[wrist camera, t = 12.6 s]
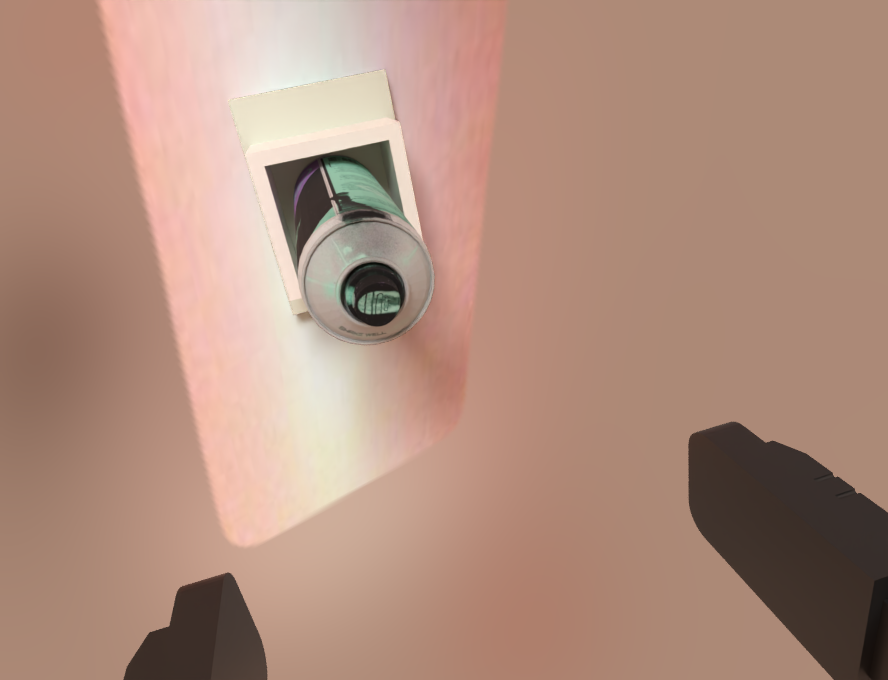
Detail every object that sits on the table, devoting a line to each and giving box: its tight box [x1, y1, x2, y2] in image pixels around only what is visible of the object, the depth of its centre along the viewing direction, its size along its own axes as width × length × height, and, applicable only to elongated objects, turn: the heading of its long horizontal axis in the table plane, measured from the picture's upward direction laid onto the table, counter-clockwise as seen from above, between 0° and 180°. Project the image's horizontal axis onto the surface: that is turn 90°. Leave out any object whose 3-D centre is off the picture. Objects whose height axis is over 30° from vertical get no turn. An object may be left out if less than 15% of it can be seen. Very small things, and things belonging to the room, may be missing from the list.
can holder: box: [228, 69, 423, 315], centre depth 38 cm, size 14×10×6 cm
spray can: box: [293, 155, 435, 345], centre depth 31 cm, size 6×6×20 cm
